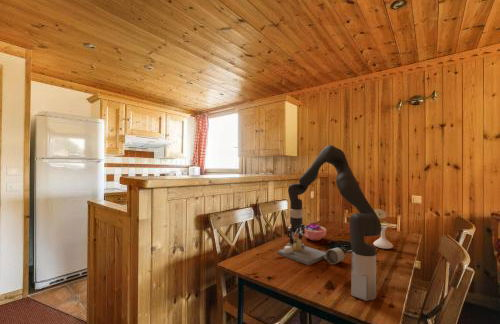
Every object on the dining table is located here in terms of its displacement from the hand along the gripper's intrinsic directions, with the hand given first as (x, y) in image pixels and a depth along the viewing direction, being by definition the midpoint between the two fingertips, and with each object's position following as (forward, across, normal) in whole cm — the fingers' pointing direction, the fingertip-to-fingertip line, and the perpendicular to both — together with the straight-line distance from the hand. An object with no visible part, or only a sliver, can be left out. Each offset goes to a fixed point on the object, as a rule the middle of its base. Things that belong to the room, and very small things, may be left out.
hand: (296, 242), depth 148 cm
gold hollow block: (+4, 0, 0) cm, 4 cm away
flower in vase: (+6, +53, -30) cm, 61 cm away
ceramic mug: (+6, +5, -22) cm, 23 cm away
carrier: (+6, 0, -5) cm, 8 cm away
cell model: (+6, +33, +9) cm, 35 cm away
